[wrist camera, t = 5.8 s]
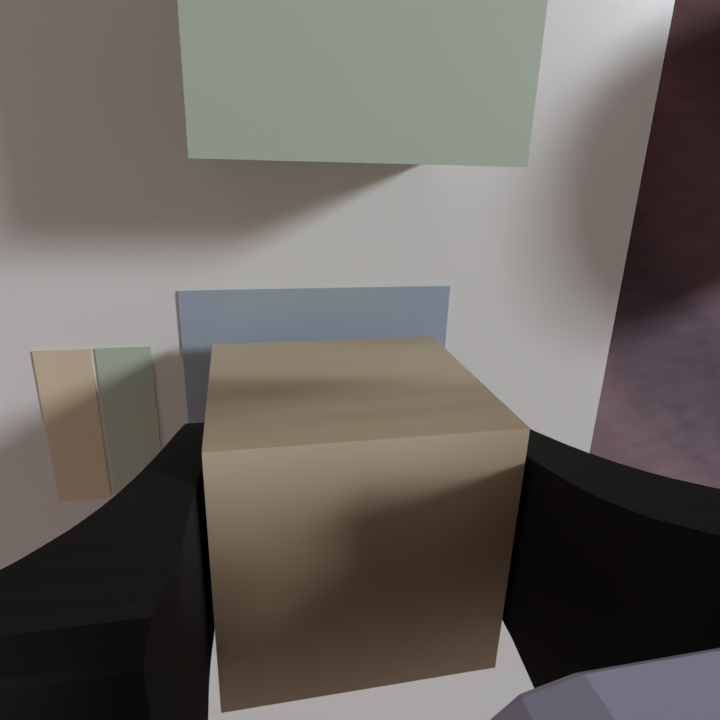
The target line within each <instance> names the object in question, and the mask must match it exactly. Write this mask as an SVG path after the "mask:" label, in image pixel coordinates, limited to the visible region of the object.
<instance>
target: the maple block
mask: <svg viewBox="0 0 720 720" xmlns="http://www.w3.org/2000/svg"><path fill="white" fill-rule="evenodd" d="M529 433H530V428H529V427H528V426H527V425H526V424H525V423H524V422H523V421H522V420H521V419H520V418H519V417H518V416H517V415H516V414H515V413H513V412H512V411H511V410H510V409H509V408H508V407H507V406H506V405H505V404H504V403H503V402H502V401H501V400H500V399H499V398H497V397H496V396H495V395H494V394H493V393H492V392H491V391H490V390H489V389H488V388H487V387H486V386H485V385H484V384H483V383H481V382H480V381H479V380H478V379H477V378H476V377H475V376H474V375H473V374H472V373H471V372H470V371H469V370H468V369H467V368H465V367H464V366H463V365H462V364H461V363H460V362H459V361H458V360H457V359H456V358H455V357H454V356H453V355H452V354H451V353H449V352H448V351H447V350H446V349H445V348H444V347H443V346H442V345H441V344H440V343H439V342H438V341H437V340H436V339H435V338H433V337H432V336H424V337H397V338H370V339H344V340H317V341H290V342H263V343H236V344H212V352H211V362H210V372H209V382H208V393H207V403H206V413H205V423H204V433H203V444H202V465H203V478H204V492H205V505H206V518H207V532H208V545H209V558H210V572H211V585H212V598H213V612H214V625H215V639H216V652H217V665H218V679H219V692H220V705H221V713H225V712H231V711H237V710H243V709H249V708H255V707H261V706H267V705H273V704H279V703H285V702H291V701H297V700H303V699H309V698H315V697H321V696H327V695H333V694H339V693H345V692H351V691H357V690H363V689H369V688H375V687H381V686H387V685H393V684H399V683H405V682H411V681H417V680H423V679H429V678H435V677H441V676H447V675H453V674H459V673H465V672H471V671H477V670H483V669H489V668H495V665H496V658H497V651H498V644H499V637H500V631H501V624H502V617H503V610H504V603H505V596H506V590H507V583H508V576H509V569H510V562H511V556H512V549H513V542H514V535H515V528H516V522H517V515H518V508H519V501H520V494H521V487H522V481H523V474H524V467H525V460H526V453H527V447H528V440H529Z"/></svg>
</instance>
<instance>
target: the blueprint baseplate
mask: <svg viewBox="0 0 720 720" xmlns="http://www.w3.org/2000/svg"><path fill="white" fill-rule="evenodd" d="M674 3H675V0H548V4H547V12H546V20H545V28H544V36H543V44H542V52H541V60H540V69H539V77H538V85H537V93H536V101H535V109H534V117H533V125H532V134H531V142H530V150H529V158H528V166H527V167H496V166H459V165H421V164H384V163H346V162H309V161H271V160H234V159H196V158H188V146H187V132H186V118H185V104H184V90H183V75H182V61H181V47H180V33H179V19H178V4H177V0H0V570H1V569H2V568H4V567H6V566H8V565H10V564H12V563H14V562H16V561H18V560H20V559H21V558H23V557H25V556H27V555H28V554H30V553H32V552H33V551H35V550H37V549H38V548H40V547H42V546H43V545H45V544H46V543H48V542H50V541H51V540H53V539H55V538H56V537H58V536H60V535H61V534H63V533H65V532H66V531H68V530H70V529H71V528H72V527H74V526H75V525H77V524H78V523H80V522H81V521H82V520H84V519H85V518H87V517H88V516H89V515H91V514H92V513H94V512H95V511H96V510H98V509H99V508H100V507H102V506H103V505H104V504H105V503H107V502H108V501H109V500H110V499H112V498H113V497H114V496H115V495H116V494H118V493H119V492H120V491H121V490H122V489H123V488H124V487H125V486H126V485H127V484H128V483H130V482H131V481H132V480H133V479H134V478H135V477H136V476H137V475H138V474H139V473H140V472H141V471H142V470H143V469H144V468H145V467H146V466H147V465H148V464H149V463H150V462H151V461H152V460H153V459H154V458H155V457H156V456H157V454H158V453H159V452H160V451H161V450H162V449H163V448H164V447H165V445H166V444H167V443H168V442H169V441H170V440H171V439H172V437H173V436H174V435H175V434H176V433H177V432H178V431H179V429H180V428H181V427H182V426H183V425H184V424H186V423H202V422H205V413H206V403H207V393H208V382H209V372H210V362H211V352H212V344H236V343H263V342H290V341H317V340H344V339H370V338H397V337H424V336H432V337H433V338H435V339H436V340H437V341H438V342H439V343H440V344H441V345H442V346H443V347H444V348H445V349H446V350H447V351H448V352H449V353H451V354H452V355H453V356H454V357H455V358H456V359H457V360H458V361H459V362H460V363H461V364H462V365H463V366H464V367H465V368H467V369H468V370H469V371H470V372H471V373H472V374H473V375H474V376H475V377H476V378H477V379H478V380H479V381H480V382H481V383H483V384H484V385H485V386H486V387H487V388H488V389H489V390H490V391H491V392H492V393H493V394H494V395H495V396H496V397H497V398H499V399H500V400H501V401H502V402H503V403H504V404H505V405H506V406H507V407H508V408H509V409H510V410H511V411H512V412H513V413H515V414H516V415H517V416H518V417H519V418H520V419H521V420H522V421H523V422H524V423H525V424H526V425H527V426H528V427H529V428H530V429H531V430H534V431H536V432H538V433H541V434H543V435H545V436H548V437H550V438H552V439H555V440H557V441H559V442H562V443H564V444H567V445H569V446H572V447H574V448H577V449H580V450H582V451H585V452H588V453H589V452H590V447H591V441H592V436H593V431H594V425H595V420H596V415H597V410H598V404H599V399H600V394H601V388H602V383H603V378H604V373H605V367H606V362H607V357H608V352H609V346H610V341H611V336H612V330H613V325H614V320H615V315H616V309H617V304H618V299H619V293H620V288H621V283H622V278H623V272H624V267H625V262H626V256H627V251H628V246H629V241H630V235H631V230H632V225H633V220H634V214H635V209H636V204H637V198H638V193H639V188H640V183H641V177H642V172H643V167H644V161H645V156H646V151H647V146H648V140H649V135H650V130H651V124H652V119H653V114H654V109H655V103H656V98H657V93H658V88H659V82H660V77H661V72H662V66H663V61H664V56H665V51H666V45H667V40H668V35H669V29H670V24H671V19H672V14H673V8H674ZM532 689H534V687H533V684H532V682H531V680H530V678H529V675H528V673H527V671H526V669H525V666H524V664H523V662H522V660H521V658H520V655H519V653H518V651H517V649H516V646H515V644H514V642H513V640H512V638H511V636H510V634H509V632H508V630H507V628H506V626H505V624H504V622H503V620H502V624H501V631H500V637H499V644H498V651H497V658H496V665H495V668H489V669H483V670H477V671H471V672H465V673H459V674H453V675H447V676H441V677H435V678H429V679H423V680H417V681H411V682H405V683H399V684H393V685H387V686H381V687H375V688H369V689H363V690H357V691H351V692H345V693H339V694H333V695H327V696H321V697H315V698H309V699H303V700H297V701H291V702H285V703H279V704H273V705H267V706H261V707H255V708H249V709H243V710H237V711H231V712H225V713H221V705H220V692H219V679H218V665H217V652H216V639H215V631H214V639H213V647H212V656H211V666H210V679H209V707H208V720H490V719H492V718H493V717H494V716H495V715H496V714H497V713H499V712H500V711H501V710H502V709H503V708H504V707H506V706H507V705H508V704H509V703H510V702H511V701H512V700H514V699H515V698H516V697H517V696H518V695H519V694H521V693H524V692H526V691H529V690H532Z"/></svg>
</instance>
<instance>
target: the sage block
mask: <svg viewBox="0 0 720 720" xmlns="http://www.w3.org/2000/svg"><path fill="white" fill-rule="evenodd" d="M177 4H178V19H179V33H180V47H181V61H182V75H183V90H184V104H185V118H186V132H187V146H188V158H196V159H234V160H271V161H309V162H346V163H384V164H421V165H459V166H496V167H527V166H528V158H529V150H530V142H531V134H532V125H533V117H534V109H535V101H536V93H537V85H538V77H539V69H540V60H541V52H542V44H543V36H544V28H545V20H546V12H547V4H548V0H177Z"/></svg>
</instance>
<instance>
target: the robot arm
mask: <svg viewBox="0 0 720 720" xmlns="http://www.w3.org/2000/svg"><path fill="white" fill-rule="evenodd" d="M204 423H205V422H202V423H186V424H184V425H183V426H182V427H181V428H180V429H179V431H178V432H177V433H176V434H175V435H174V436H173V437H172V439H171V440H170V441H169V442H168V443H167V444H166V445H165V447H164V448H163V449H162V450H161V451H160V452H159V453H158V454H157V456H156V457H155V458H154V459H153V460H152V461H151V462H150V463H149V464H148V465H147V466H146V467H145V468H144V469H143V470H142V471H141V472H140V473H139V474H138V475H137V476H136V477H135V478H134V479H133V480H132V481H131V482H130V483H128V484H127V485H126V486H125V487H124V488H123V489H122V490H121V491H120V492H119V493H118V494H116V495H115V496H114V497H113V498H112V499H110V500H109V501H108V502H107V503H105V504H104V505H103V506H102V507H100V508H99V509H98V510H96V511H95V512H94V513H92V514H91V515H89V516H88V517H87V518H85V519H84V520H82V521H81V522H80V523H78V524H77V525H75V526H74V527H72V528H71V529H70V530H68V531H66V532H65V533H63V534H61V535H60V536H58V537H56V538H55V539H53V540H51V541H50V542H48V543H46V544H45V545H43V546H42V547H40V548H38V549H37V550H35V551H33V552H32V553H30V554H28V555H27V556H25V557H23V558H21V559H20V560H18V561H16V562H14V563H12V564H10V565H8V566H6V567H4V568H2V569H1V570H0V720H208V707H209V679H210V666H211V656H212V647H213V639H214V631H215V625H214V612H213V598H212V585H211V572H210V558H209V545H208V532H207V518H206V505H205V492H204V478H203V465H202V444H203V433H204ZM502 620H503V622H504V624H505V626H506V628H507V630H508V632H509V634H510V636H511V638H512V640H513V642H514V644H515V646H516V649H517V651H518V653H519V655H520V658H521V660H522V662H523V664H524V666H525V669H526V671H527V673H528V675H529V678H530V680H531V682H532V684H533V687H534V689H532V690H529V691H526V692H524V693H521V694H519V695H518V696H517V697H516V698H515V699H514V700H512V701H511V702H510V703H509V704H508V705H507V706H506V707H504V708H503V709H502V710H501V711H500V712H499V713H497V714H496V715H495V716H494V717H493V718H492V719H490V720H720V489H717V488H712V487H707V486H703V485H698V484H694V483H690V482H685V481H681V480H676V479H672V478H668V477H664V476H660V475H656V474H653V473H649V472H646V471H642V470H639V469H636V468H632V467H629V466H626V465H623V464H619V463H616V462H613V461H610V460H607V459H604V458H601V457H598V456H595V455H593V454H590V453H588V452H585V451H582V450H580V449H577V448H574V447H572V446H569V445H567V444H564V443H562V442H559V441H557V440H555V439H552V438H550V437H548V436H545V435H543V434H541V433H538V432H536V431H534V430H531V429H530V433H529V440H528V447H527V453H526V460H525V467H524V474H523V481H522V487H521V494H520V501H519V508H518V515H517V522H516V528H515V535H514V542H513V549H512V556H511V562H510V569H509V576H508V583H507V590H506V596H505V603H504V610H503V617H502Z"/></svg>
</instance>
